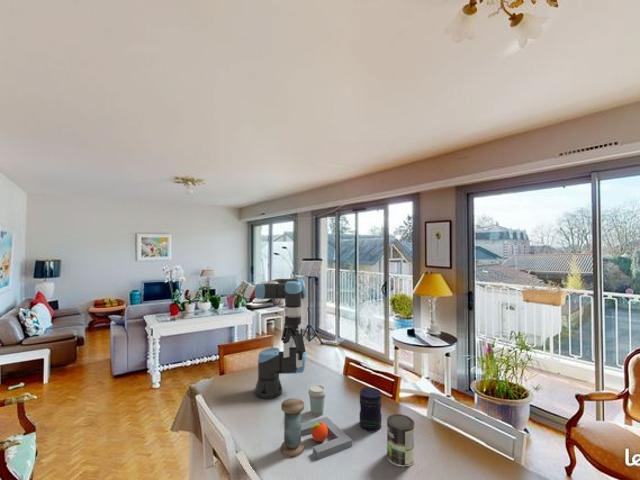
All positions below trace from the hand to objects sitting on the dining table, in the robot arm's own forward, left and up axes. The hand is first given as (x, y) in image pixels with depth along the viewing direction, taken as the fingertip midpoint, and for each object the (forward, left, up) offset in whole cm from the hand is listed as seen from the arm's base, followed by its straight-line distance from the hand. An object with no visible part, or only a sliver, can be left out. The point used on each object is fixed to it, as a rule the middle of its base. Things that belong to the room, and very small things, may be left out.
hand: (292, 361), depth 143 cm
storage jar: (+19, +30, -28) cm, 46 cm away
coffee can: (+42, +26, -28) cm, 57 cm away
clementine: (+16, +4, -28) cm, 33 cm away
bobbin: (+17, -8, -28) cm, 34 cm away
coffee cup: (-2, +14, -28) cm, 32 cm away
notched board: (+17, +6, -28) cm, 33 cm away
